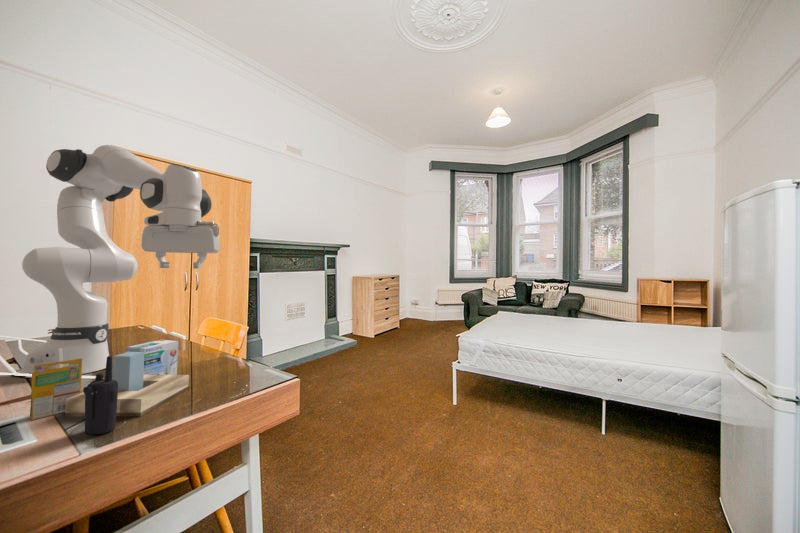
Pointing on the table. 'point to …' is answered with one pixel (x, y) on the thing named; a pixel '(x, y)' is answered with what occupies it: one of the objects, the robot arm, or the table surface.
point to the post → (129, 371)
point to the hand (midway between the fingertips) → (180, 268)
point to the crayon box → (54, 387)
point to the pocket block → (137, 396)
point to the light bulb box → (158, 356)
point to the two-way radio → (101, 402)
